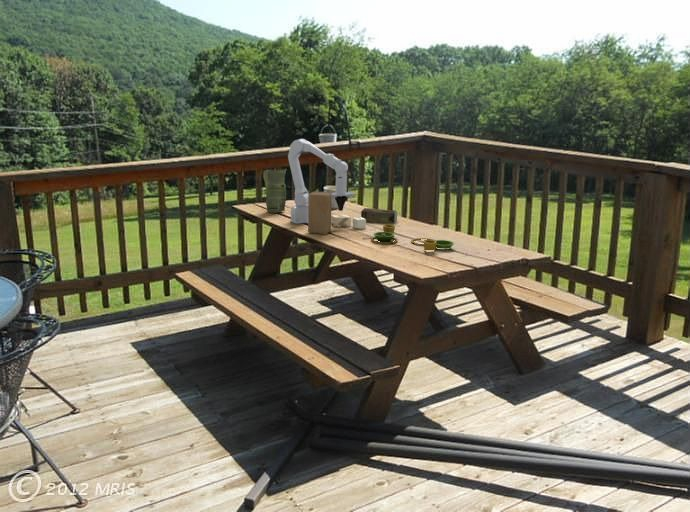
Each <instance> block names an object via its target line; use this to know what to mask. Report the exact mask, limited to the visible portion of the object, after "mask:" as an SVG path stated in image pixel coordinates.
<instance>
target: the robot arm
mask: <svg viewBox="0 0 690 512" xmlns="http://www.w3.org/2000/svg"><path fill="white" fill-rule="evenodd" d="M304 152H305V153H307V152H310V153H311V154H313V155H315V156H316V157H318V158H320V159H322V161H323V164H325V165H326V166H328V167H330V168H331V169H332V170H334V171H335V192H333V193H332V192H330V193H331V194H332V198H334V200H335V202H336V205H337V207H338V212H341V211H342V212H343V210H344V207H345V204H346V202H347V201H348V197H349V198H350V197H354V196H355V193H354V192H347V186H348V185H347V184H348V182H347V181H348V176H347V175H348V174H347V173H348V169H349V166H348V163H347V162H346V161H343V160H342V159H339V158H338V157H336V156H335V154H333V153H325V152H324V151H323V150H321V149H320V148H319V147H317V146H316V145H314V144H313V143H312V142H310V141H308V140H306V139H305V138H299V139H295V140H293V141H292V142H291V144H290V145H289V151H288V154H287V159H288V163H289V164H288V165H289V167H290V172H291V176H292V181H293V185H294V204H295V205H294V206H291V207H290V222H291V223H294V224H299V225H300V224H308V195H309V194H310V193H309V192H308V189H307V188H306V186H305V181H304V178H303V173H302V172H303V171H302V169H301V168H302V167H301V164H300V160H299V158H300V156H301V155H302V153H304Z"/></svg>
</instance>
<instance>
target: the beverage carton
mask: <svg viewBox="0 0 690 512" xmlns="http://www.w3.org/2000/svg"><path fill="white" fill-rule="evenodd" d="M360 217H362V218H364V219H366V222H368V221H369V223H371V222H372V223H383V224H395V223H397V220H398V210H395V209H393V210H391V209H380V208H379V209H378V208H369V207H367V208H366V207H364V208H363V209H362V210H361V212H360Z"/></svg>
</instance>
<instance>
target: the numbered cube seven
mask: <svg viewBox="0 0 690 512" xmlns="http://www.w3.org/2000/svg"><path fill="white" fill-rule="evenodd" d="M366 226H367V221H366V219H364V218H362V217H361V216H360V217H352V228H354V227H355V228H354V229H356V228H363V229H367V228H366Z"/></svg>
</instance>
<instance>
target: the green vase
mask: <svg viewBox="0 0 690 512" xmlns="http://www.w3.org/2000/svg"><path fill="white" fill-rule="evenodd" d="M286 171H288V169H287V168H282V169H278V170H277V168H274V169H265V170H262V172H263V173H262V178H263V181H264V185H265V196H266V197H265V200H266V201H265V206H266V209H267V210H266V212H267V213H270V214H271V213H272V214H273V213H274V214H277V213H282V212H285V211H286V203H287V202H286V201H287V194H288V193H287V192H288V191H287V189H286V184H285V181H286V180H285V176H286V173H287V172H286Z"/></svg>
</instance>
